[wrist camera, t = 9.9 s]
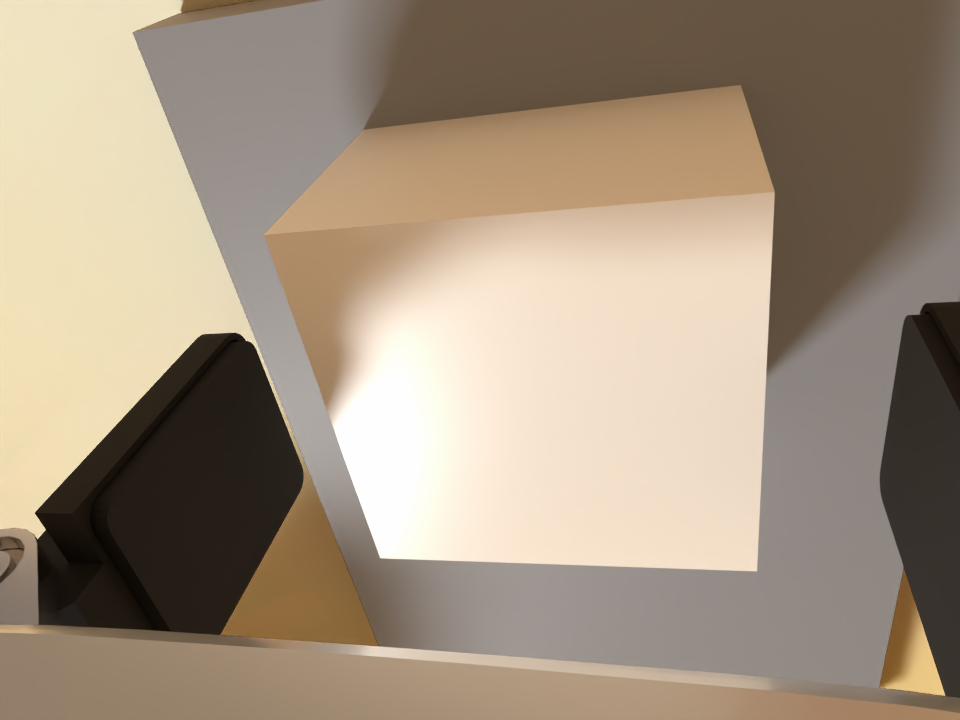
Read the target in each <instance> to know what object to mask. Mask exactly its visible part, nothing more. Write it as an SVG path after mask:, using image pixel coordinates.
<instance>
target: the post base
mask: <svg viewBox="0 0 960 720" xmlns="http://www.w3.org/2000/svg"><path fill="white" fill-rule="evenodd" d="M133 35H134V37H135V40H136V42H137V45H138V47H139V50H140V52H141V55H142V57H143V60H144V62H145V65H146V67H147V70H148V72H149V75H150V77H151V80H152V82H153V85H154V87H155V90H156V92H157V95H158V97H159V100H160V102H161V105H162V107H163V110H164V112H165V115H166V117H167V120H168V122H169V125H170V127H171V130H172V132H173V134H174V137H175V139H176V142H177V144H178V147H179V149H180V152H181V154H182V157H183V159H184V162H185V164H186V167H187V169H188V172H189V174H190V177H191V179H192V182H193V184H194V187H195V189H196V192H197V194H198V197H199V199H200V202H201V204H202V207H203V209H204V212H205V214H206V217H207V219H208V222H209V224H210V227H211V229H212V232H213V234H214V237H215V239H216V242H217V244H218V247H219V249H220V252H221V254H222V257H223V259H224V262H225V264H226V267H227V269H228V272H229V274H230V277H231V279H232V282H233V284H234V287H235V289H236V292H237V294H238V297H239V299H240V302H241V304H242V307H243V309H244V312H245V314H246V317H247V319H248V322H249V324H250V327H251V329H252V332H253V334H254V337H255V339H256V342H257V344H258V347H259V349H260V352H261V354H262V356H263V359H264V361H265V364H266V366H267V369H268V371H269V374H270V376H271V379H272V381H273V384H274V386H275V389H276V391H277V394H278V396H279V399H280V401H281V404H282V406H283V409H284V411H285V414H286V416H287V419H288V421H289V424H290V426H291V429H292V431H293V434H294V436H295V439H296V441H297V444H298V446H299V449H300V451H301V454H302V456H303V459H304V461H305V464H306V466H307V469H308V471H309V474H310V476H311V479H312V481H313V484H314V486H315V489H316V491H317V494H318V496H319V499H320V501H321V504H322V506H323V509H324V511H325V514H326V516H327V519H328V521H329V524H330V526H331V529H332V531H333V534H334V536H335V539H336V541H337V544H338V546H339V549H340V551H341V554H342V556H343V559H344V561H345V564H346V566H347V569H348V571H349V574H350V576H351V578H352V581H353V583H354V586H355V588H356V591H357V593H358V596H359V598H360V601H361V603H362V606H363V608H364V611H365V613H366V616H367V618H368V621H369V623H370V626H371V628H372V631H373V633H374V636H375V638H376V641H377V643H378V646H380V647H393V648H407V649H420V650H433V651H447V652H460V653H473V654H486V655H500V656H513V657H526V658H538V659H551V660H563V661H576V662H588V663H601V664H613V665H626V666H638V667H651V668H663V669H676V670H688V671H701V672H713V673H726V674H738V675H749V676H759V677H770V678H780V679H791V680H801V681H812V682H822V683H833V684H843V685H854V686H864V687H875V688H879V685H880V680H881V675H882V670H883V665H884V661H885V656H886V651H887V646H888V641H889V636H890V631H891V627H892V622H893V617H894V612H895V607H896V602H897V598H898V593H899V588H900V583H901V578H902V573H903V568H904V566H903V563H902V560H901V557H900V554H899V551H898V548H897V545H896V541H895V538H894V535H893V532H892V529H891V526H890V523H889V520H888V517H887V514H886V511H885V508H884V505H883V501H882V498H881V492H880V468H881V462H882V455H883V449H884V443H885V436H886V430H887V423H888V417H889V411H890V404H891V398H892V391H893V385H894V379H895V372H896V366H897V359H898V353H899V347H900V340H901V334H902V327H903V323H904V320H905V317H906V316H907V315H919V314H920V311H921V309H922V307H923V305H924V304H925V303H937V302H958V301H959V297H960V0H255V1H249V2H243V3H238V4H232V5H226V6H220V7H214V8H209V9H203V10H197V11H191V12H185V13H180V14H177V15H174V16H172V17H169V18H167V19H164V20H162V21H159V22H157V23H154V24H152V25H150V26H147V27H145V28H142V29H140V30H137V31H135V32H133ZM736 85H741V87H742V90H743V93H744V96H745V100H746V103H747V106H748V109H749V112H750V115H751V119H752V122H753V125H754V128H755V131H756V134H757V137H758V141H759V144H760V147H761V150H762V153H763V156H764V159H765V163H766V166H767V169H768V172H769V175H770V178H771V181H772V185H773V188H774V191H775V199H774V220H773V241H772V262H771V284H770V305H769V326H768V347H767V369H766V390H765V411H764V432H763V454H762V475H761V496H760V518H759V539H758V560H757V571H730V570H701V569H673V568H644V567H616V566H587V565H559V564H530V563H502V562H473V561H445V560H416V559H388V558H380V556H379V553H378V550H377V548H376V545H375V542H374V539H373V537H372V534H371V531H370V528H369V525H368V523H367V520H366V517H365V514H364V512H363V509H362V506H361V503H360V500H359V498H358V495H357V492H356V489H355V487H354V484H353V481H352V478H351V476H350V473H349V470H348V467H347V464H346V462H345V459H344V456H343V453H342V451H341V448H340V445H339V442H338V439H337V437H336V434H335V431H334V428H333V426H332V423H331V420H330V417H329V414H328V412H327V409H326V406H325V403H324V401H323V398H322V395H321V392H320V389H319V387H318V384H317V381H316V378H315V376H314V373H313V370H312V367H311V364H310V362H309V359H308V356H307V353H306V351H305V348H304V345H303V342H302V340H301V337H300V334H299V331H298V328H297V326H296V323H295V320H294V317H293V315H292V312H291V309H290V306H289V303H288V301H287V298H286V295H285V292H284V290H283V287H282V284H281V281H280V278H279V276H278V273H277V270H276V267H275V265H274V262H273V259H272V256H271V253H270V251H269V248H268V245H267V242H266V240H265V237H264V234H265V233H266V232H267V231H268V230H269V229H270V228H271V227H272V226H273V225H274V223H275V222H276V221H277V220H278V219H279V218H280V217H281V216H282V215H283V214H284V213H285V212H286V211H287V210H288V209H289V208H290V207H291V206H292V204H293V203H294V202H295V201H296V200H297V199H298V198H299V197H300V196H301V195H302V194H303V193H304V192H305V191H306V190H307V189H308V188H309V186H310V185H311V184H312V183H313V182H314V181H315V180H316V179H317V178H318V177H319V176H320V175H321V174H322V173H323V172H324V171H325V170H326V169H327V167H328V166H329V165H330V164H331V163H332V162H333V161H334V160H335V159H336V158H337V157H338V156H339V155H340V154H341V153H342V152H343V151H344V150H345V148H346V147H347V146H348V145H349V144H350V143H351V142H352V141H353V140H354V139H355V138H356V137H357V136H358V135H359V134H360V133H361V132H362V130H365V129H373V128H382V127H390V126H399V125H407V124H416V123H424V122H432V121H441V120H449V119H458V118H466V117H475V116H483V115H491V114H500V113H508V112H517V111H525V110H534V109H542V108H550V107H559V106H567V105H576V104H584V103H593V102H601V101H609V100H618V99H626V98H635V97H643V96H651V95H660V94H668V93H677V92H685V91H694V90H702V89H710V88H719V87H727V86H736Z"/></svg>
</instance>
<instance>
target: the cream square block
mask: <svg viewBox="0 0 960 720" xmlns="http://www.w3.org/2000/svg"><path fill="white" fill-rule="evenodd" d="M774 199H775V191H774V188H773V185H772V181H771V178H770V175H769V172H768V169H767V166H766V163H765V159H764V156H763V153H762V150H761V147H760V144H759V141H758V137H757V134H756V131H755V128H754V125H753V122H752V119H751V115H750V112H749V109H748V106H747V103H746V100H745V96H744V93H743V90H742V87H741V85H736V86H727V87H719V88H710V89H702V90H694V91H685V92H677V93H668V94H660V95H651V96H643V97H635V98H626V99H618V100H609V101H601V102H593V103H584V104H576V105H567V106H559V107H550V108H542V109H534V110H525V111H517V112H508V113H500V114H491V115H483V116H475V117H466V118H458V119H449V120H441V121H432V122H424V123H416V124H407V125H399V126H390V127H382V128H373V129H365V130H362V132H361V133H360V134H359V135H358V136H357V137H356V138H355V139H354V140H353V141H352V142H351V143H350V144H349V145H348V146H347V147H346V148H345V150H344V151H343V152H342V153H341V154H340V155H339V156H338V157H337V158H336V159H335V160H334V161H333V162H332V163H331V164H330V165H329V166H328V167H327V169H326V170H325V171H324V172H323V173H322V174H321V175H320V176H319V177H318V178H317V179H316V180H315V181H314V182H313V183H312V184H311V185H310V186H309V188H308V189H307V190H306V191H305V192H304V193H303V194H302V195H301V196H300V197H299V198H298V199H297V200H296V201H295V202H294V203H293V204H292V206H291V207H290V208H289V209H288V210H287V211H286V212H285V213H284V214H283V215H282V216H281V217H280V218H279V219H278V220H277V221H276V222H275V223H274V225H273V226H272V227H271V228H270V229H269V230H268V231H267V232H266V233H265V234H264V237H265V240H266V242H267V245H268V248H269V251H270V253H271V256H272V259H273V262H274V265H275V267H276V270H277V273H278V276H279V278H280V281H281V284H282V287H283V290H284V292H285V295H286V298H287V301H288V303H289V306H290V309H291V312H292V315H293V317H294V320H295V323H296V326H297V328H298V331H299V334H300V337H301V340H302V342H303V345H304V348H305V351H306V353H307V356H308V359H309V362H310V364H311V367H312V370H313V373H314V376H315V378H316V381H317V384H318V387H319V389H320V392H321V395H322V398H323V401H324V403H325V406H326V409H327V412H328V414H329V417H330V420H331V423H332V426H333V428H334V431H335V434H336V437H337V439H338V442H339V445H340V448H341V451H342V453H343V456H344V459H345V462H346V464H347V467H348V470H349V473H350V476H351V478H352V481H353V484H354V487H355V489H356V492H357V495H358V498H359V500H360V503H361V506H362V509H363V512H364V514H365V517H366V520H367V523H368V525H369V528H370V531H371V534H372V537H373V539H374V542H375V545H376V548H377V550H378V553H379V556H380V558H388V559H416V560H445V561H473V562H502V563H530V564H559V565H587V566H616V567H644V568H673V569H701V570H730V571H757V560H758V539H759V518H760V496H761V475H762V454H763V432H764V411H765V390H766V369H767V347H768V326H769V305H770V284H771V262H772V241H773V220H774Z"/></svg>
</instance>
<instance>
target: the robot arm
mask: <svg viewBox="0 0 960 720" xmlns="http://www.w3.org/2000/svg"><path fill="white" fill-rule="evenodd" d="M302 484H303V469H302V465H301V463H300V460H299V458H298V455H297V453H296V450H295V448H294V445H293V442H292V440H291V437H290V435H289V432H288V430H287V427H286V425H285V422H284V419H283V417H282V414H281V412H280V409H279V407H278V404H277V402H276V399H275V397H274V394H273V391H272V389H271V386H270V384H269V381H268V379H267V376H266V374H265V371H264V369H263V366H262V363H261V361H260V358H259V356H258V353H257V351H256V349H255V347H254V345H253V344H252V343H251V342H248V341H245V339H244V338H243V337H242V336H241V335H240V334H237V333H221V334H204V335H201V336H200V337H198V338H197V339H196V340H195V341H194V342H193V343H192V344H191V345H190V347H189V348H188V349H187V350H186V351H185V352H184V353H183V354H182V355H181V356H180V357H179V358H178V359H177V361H176V362H175V363H174V364H173V365H172V366H171V367H170V368H169V369H168V370H167V371H166V372H165V373H164V374H163V376H162V377H161V378H160V379H159V380H158V381H157V382H156V383H155V384H154V385H153V386H152V387H151V388H150V390H149V391H148V392H147V393H146V394H145V395H144V396H143V397H142V398H141V399H140V400H139V401H138V402H137V404H136V405H135V406H134V407H133V408H132V409H131V410H130V411H129V412H128V413H127V414H126V415H125V416H124V417H123V419H122V420H121V421H120V422H119V423H118V424H117V425H116V426H115V427H114V428H113V429H112V430H111V431H110V433H109V434H108V435H107V436H106V437H105V438H104V439H103V440H102V441H101V442H100V443H99V444H98V445H97V446H96V448H95V449H94V450H93V451H92V452H91V453H90V454H89V455H88V456H87V457H86V458H85V459H84V460H83V462H82V463H81V464H80V465H79V466H78V467H77V468H76V469H75V470H74V471H73V472H72V473H71V474H70V476H69V477H68V478H67V479H66V480H65V481H64V482H63V483H62V484H61V485H60V486H59V487H58V488H57V489H56V491H55V492H54V493H53V494H52V495H51V496H50V497H49V498H48V499H47V500H46V501H45V502H44V503H43V505H42V506H41V507H40V508H39V509H38V510H37V511H36V512H35V514H36V515H37V517H38V518H39V520H40V521H41V523H42V524H43V526H44V527H45V529H46V531H45V532H44V533H43V534H42V535H41V536H40V537H39V539H38V540H37V538H36V537H35V535H34V534H32V533H31V532H29V531H28V530H26V529H20V528H9V529H2V530H0V720H960V302H937V303H925V304H924V305H923V307H922V309H921V311H920V314H919V315H907V316H906V317H905V320H904V323H903V327H902V334H901V340H900V347H899V353H898V359H897V366H896V372H895V379H894V385H893V391H892V398H891V404H890V411H889V417H888V423H887V430H886V436H885V443H884V449H883V455H882V462H881V468H880V492H881V498H882V501H883V505H884V508H885V511H886V514H887V517H888V520H889V523H890V526H891V529H892V532H893V535H894V538H895V541H896V545H897V548H898V551H899V554H900V557H901V560H902V563H903V566H904V569H905V572H906V575H907V578H908V581H909V585H910V588H911V591H912V594H913V597H914V600H915V603H916V606H917V609H918V612H919V615H920V618H921V621H922V624H923V628H924V631H925V634H926V637H927V640H928V643H929V646H930V649H931V652H932V655H933V658H934V661H935V664H936V667H937V671H938V674H939V677H940V680H941V683H942V686H943V689H944V692H945V695H946V696H941V695H933V694H926V693H918V692H911V691H904V690H896V689H885V688H875V687H864V686H854V685H843V684H833V683H822V682H812V681H801V680H791V679H780V678H770V677H759V676H749V675H738V674H726V673H713V672H701V671H688V670H676V669H663V668H651V667H638V666H626V665H613V664H601V663H588V662H576V661H563V660H551V659H538V658H526V657H513V656H500V655H486V654H473V653H460V652H447V651H433V650H420V649H407V648H393V647H380V646H366V645H353V644H339V643H325V642H312V641H298V640H283V639H269V638H254V637H240V636H225V635H220V634H221V632H222V631H223V629H224V627H225V625H226V623H227V622H228V620H229V618H230V616H231V614H232V613H233V611H234V609H235V607H236V605H237V604H238V602H239V600H240V598H241V596H242V595H243V593H244V591H245V589H246V587H247V586H248V584H249V582H250V580H251V578H252V577H253V575H254V573H255V571H256V569H257V568H258V566H259V564H260V562H261V561H262V559H263V557H264V555H265V553H266V552H267V550H268V548H269V546H270V544H271V543H272V541H273V539H274V537H275V535H276V534H277V532H278V530H279V528H280V526H281V525H282V523H283V521H284V519H285V517H286V516H287V514H288V512H289V510H290V508H291V507H292V505H293V503H294V501H295V499H296V498H297V496H298V494H299V492H300V490H301V488H302Z"/></svg>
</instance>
